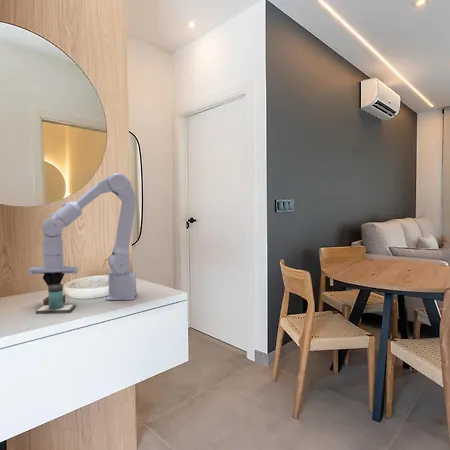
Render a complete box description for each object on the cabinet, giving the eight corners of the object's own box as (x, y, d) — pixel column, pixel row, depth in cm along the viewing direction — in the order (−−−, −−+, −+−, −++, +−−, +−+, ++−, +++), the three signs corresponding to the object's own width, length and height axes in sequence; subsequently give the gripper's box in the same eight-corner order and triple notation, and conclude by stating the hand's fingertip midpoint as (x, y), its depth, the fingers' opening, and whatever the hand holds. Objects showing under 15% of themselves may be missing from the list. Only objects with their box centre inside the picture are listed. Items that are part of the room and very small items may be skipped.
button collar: (65, 302, 111) (65, 295, 111) (59, 307, 106) (59, 299, 106) (49, 302, 110) (49, 295, 110) (43, 307, 105) (43, 300, 105)
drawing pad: (75, 307, 106) (75, 304, 106) (70, 312, 101) (70, 309, 101) (42, 308, 105) (42, 304, 105) (35, 313, 100) (35, 310, 100)
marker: (65, 304, 105) (64, 283, 104) (60, 309, 101) (59, 287, 100) (51, 305, 105) (51, 283, 104) (46, 309, 100) (45, 287, 100)
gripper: (80, 252, 111) (81, 291, 113) (35, 252, 110) (36, 292, 111) (73, 256, 104) (74, 297, 106) (25, 256, 103) (26, 298, 104)
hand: (54, 295), depth 108 cm, fingers closed, pressing on done button
